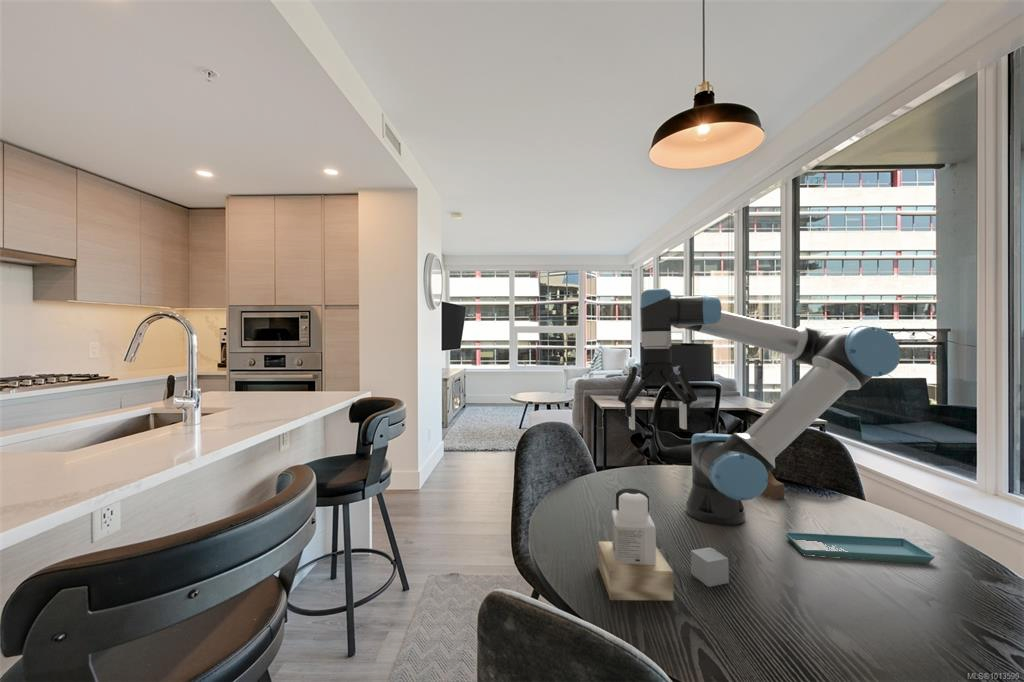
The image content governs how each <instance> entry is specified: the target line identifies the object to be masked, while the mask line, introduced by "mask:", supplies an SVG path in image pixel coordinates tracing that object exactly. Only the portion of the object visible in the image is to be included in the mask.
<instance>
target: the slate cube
mask: <svg viewBox="0 0 1024 682" xmlns="http://www.w3.org/2000/svg"><path fill="white" fill-rule="evenodd" d="M729 569H730V568H729V558H728V557H727V556H725V555H724V554H722V553H721V552H719V551H718V550H715V549H714V548H712V547H703V548H698V549H691V550H690V574H691V575H692V576H693V577H694V578H696V579H697V580H698V581H700V582H701V583H703V584H704V585H705V586H707V587H708V588H710V587H715V586H720V585H727V584H729V582H730V581H729V579H730V578H729V577H730V575H729V572H730V571H729Z"/></svg>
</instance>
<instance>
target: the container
mask: <svg viewBox="0 0 1024 682" xmlns="http://www.w3.org/2000/svg"><path fill="white" fill-rule="evenodd" d="M656 531H657V530H656V526H655V523H654V520H653V519H652V517H651V515H650V496H649V495H648V493H647V492H645V491H644V490H643V491H642V490H641V489H638V488H637V489H636V488H631V487H630V488H629V487H628V488H623V489H622V488H621V489H620V490H618V491H617V492H616V493H615V509H612V510H611V542H612V546H613V550H614V555H615V560H616V563H620V564H636V565H652V566H655V565H656V547H657V538H656V537H657V535H656V534H657V532H656Z"/></svg>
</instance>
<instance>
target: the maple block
mask: <svg viewBox="0 0 1024 682" xmlns="http://www.w3.org/2000/svg"><path fill="white" fill-rule="evenodd" d="M597 547H598V548H597V550H598V551H597V552H598V553H597V558H598V559H597V562H598V570H599V572H600V575H601V578H602V581H603V584H604V587H605V590H606V592H607V596H608V597H609V598H608V599H609V600H610V601H674V598H675V597H674V571H673V569H672V568H671V566H670V564H669V563H668V561H667V559H665V557H664V556H663V554H662V552H660V550H659V548H658V547H657V546H656V565H655V566H652V565H636V564H620V563H616V560H615V555H614V550H613V546H612V541H598V542H597Z"/></svg>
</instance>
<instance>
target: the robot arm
mask: <svg viewBox="0 0 1024 682" xmlns="http://www.w3.org/2000/svg"><path fill="white" fill-rule="evenodd" d="M639 309H640V328H641V329H640V330H641V331H640V338H641V340H640V341H641V348H642V347H643V348H642V350H640V351H641V366H640V367H637V366H630V367H629V372H628V376H627V378H626V380H625V382H624V383H623V384H624V385H623V386H622V388H621V390H620V393H619V394H618V397H617V401H619V402H620V403H623V404H624V415H625V416H626V417H628V428H629V429H630V430H631V431H635V430H636V414H635V413H636V410H635V407H636V405H635V404H633V403H634V401H635V400H636V399H637V398H638V396H639V395H640V394H641V393H642V391H643V390H644V389H645V388H646V387H647V386H648V385H649V384H663V385H664V384H666V385H667V386H668V387H669V389H671V391H673V393H674V394H675V395H676V396H677V398H679V400H680V401H681V402H679V404H678V407H679V408H678V410H679V413H678V414H679V415H678V417H679V420H678V422H679V423H678V424H679V428H680V429H682V430H688V418H687V417H690V415H691V411H690V410H691V404H692V403H693V402H697V400H698V398H697V395H696V393H695V392H694V389H693V387H692V386H691V384H690V382H689V380H688V378H687V376H686V372H685V367H684V366H681V365H676V366H673V365H672V362H673V361H672V360H673V359H672V357H673V355H672V353H673V352H672V351H673V350H672V348H670V347H672V327H673V328H677V329H685V330H689V331H692V332H696V333H702V334H706V335H709V336H713V337H717V338H721V339H724V340H729V341H733V342H737V343H741V344H743V345H744V344H745V345H747V346H751V347H756V348H759V349H763V350H768V351H772V352H775V353H778V354H779V353H780V354H783V355H785V356H786V357H787V358H788V359H789V360H792V361H796V362H799V363H802V364H805V365H809V366H811V368H810V369H809V370H808V371H807V372H806V373H804V375H803V376H802V377H800V379H799V380H798V381H797V382H796V383H794V384H793V386H791V388H789V389H788V390H787V392H785V393H784V394H783V395H782V396H781V397H780V398H779V399H778V400H777V401H775V403H774V404H772V406H771V407H769V408H768V410H767V411H765V413H763V414H762V415H761V417H759V418H758V419H757V420H756V421H755V422H754V423H753V424H752V425H751V426H750V427H749V428H747V430H746V431H744V432H739V433H738V432H734V433H733V434H726V433H709V432H708V433H707V432H706V433H704V432H702V433H699V432H698V433H694V434H692V436H691V443H690V447H691V477H692V479H691V481H692V482H691V483H692V484H691V488H690V490H689V494H688V496H687V500H686V503H685V505H686V506H685V507H686V508H685V509H686V513H687V514H688V515H689V516H690V517H692V518H694V519H696V520H699V521H702V522H704V523H705V522H706V523H709V524H714V525H720V526H734V525H740V524H742V523H744V522H745V521H746V510H745V508H744V505H743V502H742V501H749V500H753V499H756V498H758V497H759V496H760V495H761V494H762V493H763V492H764V490H765V489H766V487H767V484H768V481H767V480H768V474H769V473H770V472H773V470H775V469H776V462H775V461H776V460H775V459H776V457H778V456H779V455H780V454H781V453H782V452H783V451H784V450H785V449H786V448H787V447H789V445H791V443H793V442H794V441H795V439H797V438H798V437H799V436H800V435H801V434H802V433H803V432H804V431H806V429H807V428H809V427H810V426H811V425H812V424H813V423H814V422H815V421H816V420H817V419H819V417H820V416H821V415H822V414H824V413H825V412H826V411H827V410H828V409H829V408H830V407H831V406H832V405H833V404H835V402H836V401H837V400H839V398H840V397H842V395H844V393H846V392H847V391H854V390H855V391H857V390H860V389H861V388H862V387H863V386H864V385H865V384H866V383H868V382H869V381H870V380H871V378H873V377H874V378H876V377H877V378H879V377H883V376H886V375H889V374H890V373H892V372H893V371H895V369H896V368H897V367H898V365H899V364H900V362H901V361H900V360H901V357H902V355H901V354H902V353H901V349H900V348H901V347H900V344H899V342H898V340H897V338H895V337H894V335H893V334H892V333H890V332H889V331H888V330H886V329H884V328H880V327H878V326H868V325H860V326H855V327H848V328H847V327H845V328H832V329H830V328H828V329H825V328H824V329H823V328H822V329H821V328H820V329H819V328H809V327H805V326H797V327H796V328H793V327H790V326H785V325H782V324H777V323H775V322H773V323H772V322H769V321H766V320H761V319H757V318H752V317H748V316H744V315H741V314H736V313H732V312H730V311H729V312H728V311H725V310H724V311H723V310H722V303H721V300H720V298H719V297H717V296H715V295H704V294H703V295H694V296H693V295H691V296H690V295H689V296H672V293H671V290H670V289H668V288H649V289H646V290H644V291H642V293H641V295H640V308H639ZM639 373H640V375H642V377H641V379H640V380H639V381H638V383H637V384H636V386H634V388H633V389H632V390H631V388H632V387H633V384H634V383H635V380H636V378H637V376H638V375H639ZM673 373H674V374H675V375H676V377H677V379H678V381H679V383H680V385H681V387H682V389H683V390H684V391H683V390H682V389H681V388H680V387H679V385H678V384H677V383H676V382H675V380H674V379H673V378H672V377H671V375H672V374H673ZM630 390H631V392H630Z"/></svg>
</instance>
